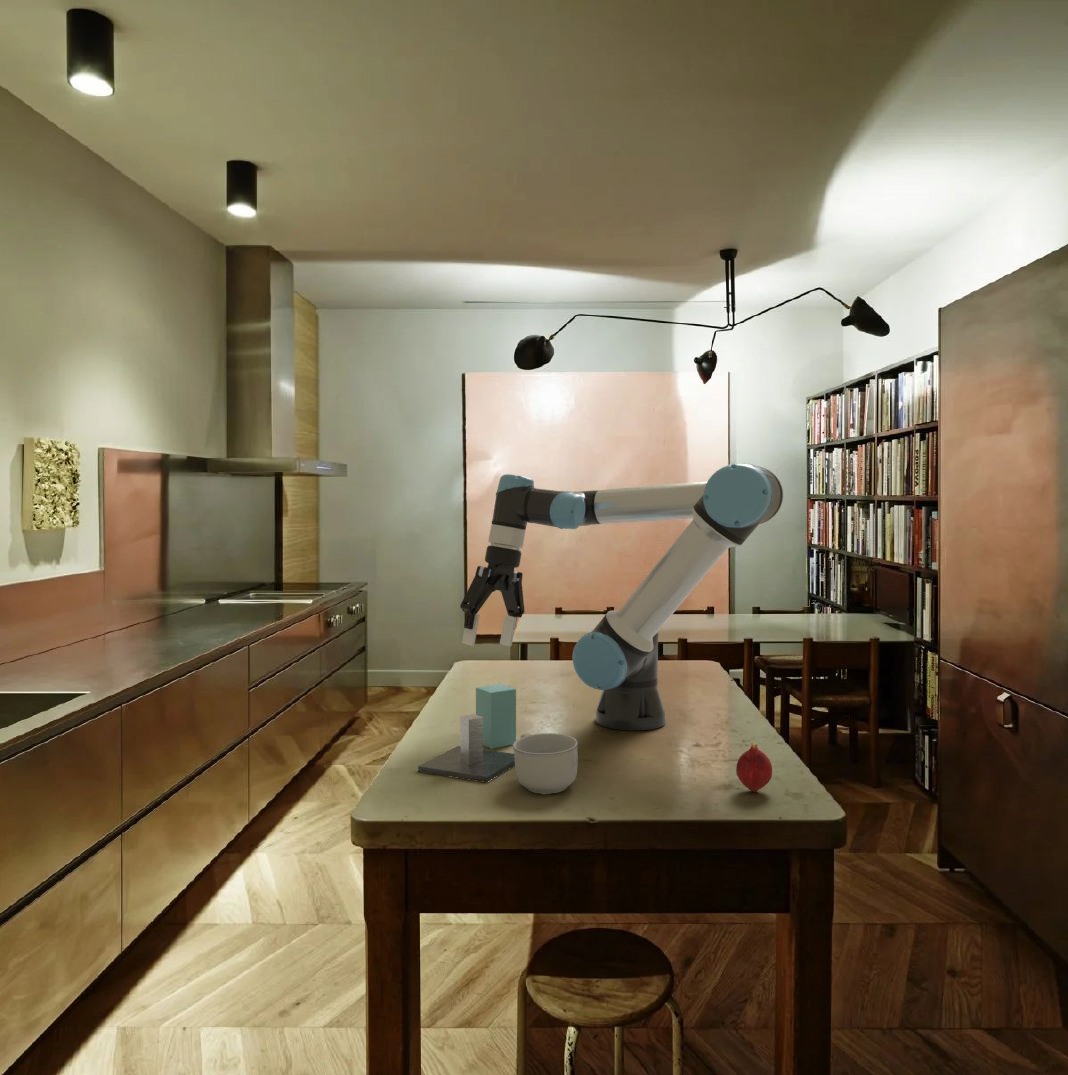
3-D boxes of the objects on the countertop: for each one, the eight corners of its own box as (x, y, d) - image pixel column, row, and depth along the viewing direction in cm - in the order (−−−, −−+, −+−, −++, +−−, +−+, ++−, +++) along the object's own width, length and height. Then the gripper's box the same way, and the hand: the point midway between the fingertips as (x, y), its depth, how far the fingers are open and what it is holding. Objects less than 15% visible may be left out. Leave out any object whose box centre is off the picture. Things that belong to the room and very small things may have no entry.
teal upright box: (500, 737, 172) (500, 683, 171) (516, 744, 167) (516, 689, 167) (475, 741, 168) (475, 687, 168) (491, 748, 164) (491, 692, 163)
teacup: (586, 795, 137) (587, 747, 137) (523, 802, 134) (522, 752, 134) (560, 770, 151) (560, 725, 150) (501, 775, 148) (501, 730, 147)
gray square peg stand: (523, 760, 156) (523, 712, 156) (487, 782, 144) (487, 730, 143) (458, 751, 162) (458, 704, 162) (418, 771, 149) (417, 721, 149)
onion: (777, 797, 136) (778, 748, 136) (742, 798, 136) (743, 749, 136) (764, 785, 142) (765, 738, 142) (731, 786, 142) (731, 739, 141)
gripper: (522, 550, 192) (506, 642, 192) (455, 538, 171) (436, 640, 171) (550, 555, 188) (533, 648, 188) (484, 543, 167) (465, 648, 167)
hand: (487, 645), depth 179 cm, fingers open, 13 cm apart
